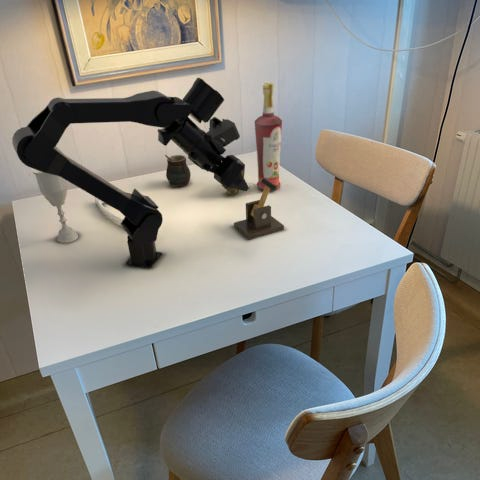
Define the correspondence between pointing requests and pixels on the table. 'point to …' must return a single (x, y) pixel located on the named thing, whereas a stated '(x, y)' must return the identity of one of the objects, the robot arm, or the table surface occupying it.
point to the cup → (230, 190)
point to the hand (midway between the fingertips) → (238, 182)
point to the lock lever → (264, 194)
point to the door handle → (107, 213)
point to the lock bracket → (258, 222)
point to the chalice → (56, 200)
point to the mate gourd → (177, 171)
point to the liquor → (268, 140)
